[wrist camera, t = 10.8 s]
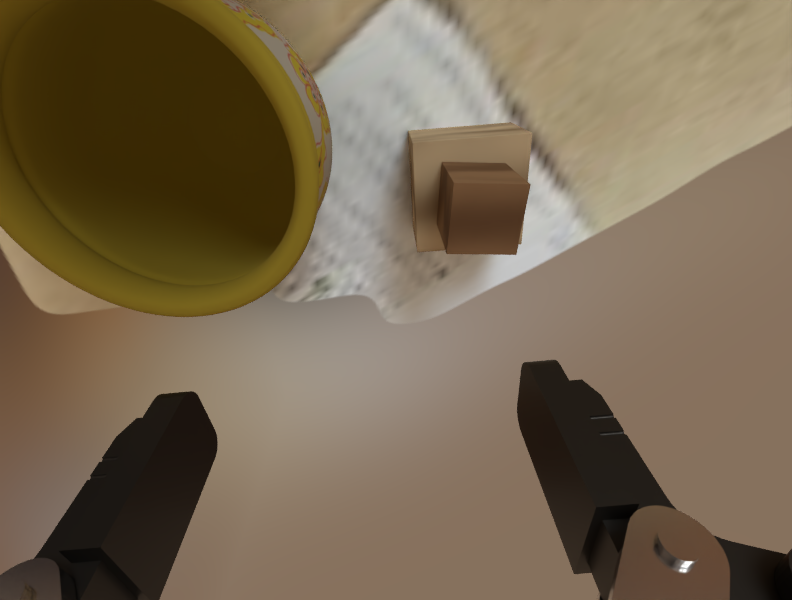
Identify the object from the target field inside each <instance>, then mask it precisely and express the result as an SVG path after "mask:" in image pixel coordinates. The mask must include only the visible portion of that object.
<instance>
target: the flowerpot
mask: <svg viewBox="0 0 792 600" xmlns="http://www.w3.org/2000/svg"><path fill="white" fill-rule="evenodd" d="M331 165H332V137H331V129H330V124H329V119H328V115H327V111H326V108H325V104H324V102H323V99H322V96H321V94H320V91H319V89H318V87H317V84H316V83H315V81H314V79H313V77H312V75H311V73H310V71H309V70H308V68H307V67H306V65H305V63H304V62H303V60H302V59H301V58H300V56H299V55H298V53H297V52H296V51H295V50H294V48H293V47H292V46H291V45H290V43H289V42H288V41H287V40H286V39H285V38H284V37H283V36H282V35H281V34H280V33H279V32H278V31H277V30H276V29H275V28H274V27H273V26H272V25H271V24H269V23H268V22H267V21H266V20H264V19H263V18H262V17H261V16H259V15H258V14H257V13H255V12H254V11H252V10H251V9H250V8H248V7H246V6H245V5H243V4H241V3H240V2H238V1H236V0H0V226H1V227H2V228H3V229H4V230H5V231H6V233H7V234H8V235H9V236H10V237H11V238H12V239H13V240H14V241H15V242H16V243H18V244H19V245H20V246H21V247H22V248H23V249H24V250H25V251H26V252H27V253H29V254H30V255H31V256H32V257H33V258H35V259H36V260H37V261H38V262H40V263H41V264H42V265H44V266H45V267H46V268H48V269H49V270H51V271H52V272H54V273H55V274H56V275H58V276H59V277H61V278H63V279H64V280H66V281H68V282H69V283H71V284H73V285H74V286H76V287H78V288H80V289H82V290H84V291H86V292H88V293H90V294H92V295H94V296H96V297H98V298H101V299H103V300H106V301H108V302H111V303H113V304H116V305H119V306H122V307H125V308H129V309H132V310H136V311H140V312H144V313H150V314H155V315H163V316H175V317H194V316H195V317H196V316H206V315H213V314H218V313H223V312H226V311H230V310H234V309H236V308H239V307H242V306H244V305H246V304H248V303H251V302H253V301H255V300H256V299H258V298H260V297H262V296H263V295H265V294H266V293H268V292H269V291H270V290H272V289H273V288H274V287H275V286H276V285H278V284H279V283H280V282H281V281H282V280H283V279H284V278H285V277H286V276H287V275H288V274H289V272H290V271H291V270H292V269H293V267H294V266H295V265H296V263H297V262H298V260H299V259H300V257H301V255H302V254H303V252H304V250H305V248H306V246H307V244H308V241H309V239H310V236H311V233H312V231H313V227H314V224H315V220H316V215H317V212H318V210H319V208H320V206H321V204H322V201H323V199H324V196H325V193H326V190H327V186H328V182H329V178H330V172H331Z"/></svg>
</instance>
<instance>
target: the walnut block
mask: <svg viewBox="0 0 792 600" xmlns="http://www.w3.org/2000/svg"><path fill="white" fill-rule="evenodd" d="M529 189H530V184H529V183H528V182H527V181H526V180H525V179H524V178H522V177H521V176H520V175H519V174H518V173H517V172H515V171H514V170H513V169H512V168H511V167H510V166H508V165H507V164H506V163H477V162H442V165H441V176H440V188H439V200H438V212H437V226H438V229H439V232H440V235H441V238H442V241H443V244H444V247H445V250H446V253H447V254H505V255H516V253H517V248H518V243H519V238H520V234H521V229H522V224H523V219H524V214H525V209H526V204H527V199H528V194H529Z"/></svg>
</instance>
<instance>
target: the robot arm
mask: <svg viewBox="0 0 792 600" xmlns="http://www.w3.org/2000/svg"><path fill="white" fill-rule="evenodd" d="M517 413H518V421H519V426H520V430H521V432H522V436H523V438H524V441H525V444H526V446H527V449H528V452H529V454H530V457H531V459H532V462H533V465H534V468H535V470H536V473H537V475H538V478H539V481H540V484H541V486H542V489H543V492H544V494H545V497H546V500H547V503H548V505H549V508H550V511H551V513H552V516H553V518H554V521H555V524H556V527H557V529H558V532H559V535H560V538H561V540H562V543H563V546H564V548H565V551H566V553H567V556H568V559H569V562H570V564H571V567H572V570H573V572H574V574H581V573H592V575H593V577H594V580H595V582H596V584H597V587H598V589H599V595H598V598H597V600H792V549H791V550H790V551H789V552H788V554H783V553H779V552H774V551H770V550H766V549H761V548H757V547H753V546H748V545H744V544H739V543H735V542H731V541H728V540H724V539H721V538H719V537H716V536H713V535H712V534H711V533H710V532H709V531H708V530H707V529H706V528H705V527H704V526H703V525H701V524H700V523H699V522H698V521H696V520H695V519H693V518H692V517H690V516H689V515H686V514H685V513H683V512H681V511H678V510H676V508H675V507H674V506H673V505H672V504H671V503H670V501H669V500H668V499H667V497H666V495H665V494H664V492H663V491H662V489H661V488H660V486H659V485H658V483H657V482H656V480H655V478H654V477H653V475H652V474H651V472H650V471H649V469H648V467H647V466H646V464H645V463H644V461H643V460H642V458H641V457H640V455H639V453H638V452H637V450H636V449H635V447H634V446H633V444H632V442H631V441H630V439H629V438H628V436H627V435H625V434H624V432H623V428H622V427H621V425H620V424H619V422H618V421H617V419H616V418H614V416H613V413H612V411H611V410H610V408H609V407H608V405H607V403H606V402H605V400H604V399H603V397H602V396H601V395H600V394H599V393H598V392H597V391H595V390H594V389H593V388H591V387H590V386H589V385H588V384H587V383H585V382H584V381H583V380H572V381H569V379H568V378H567V376H566V374H565V373H564V371H563V369H562V367H561V365H560V364H559V363H558V361H556V360H546V361H536V362H525V363H523V365H522V368H521V376H520V386H519V395H518V403H517ZM216 453H217V435H216V432H215V429H214V427H213V425H212V423H211V421H210V419H209V417H208V415H207V413H206V411H205V409H204V407H203V405H202V403H201V401H200V399H199V397H198V395H197V394H196V393H195V392H179V393H169V394H161V395H158V396H157V397H156V398H155V399H154V401H153V402H152V404H151V405H150V407H149V408H148V410H147V411H146V413H145V415H144V416H143V418H137V419H135V420H134V421H133V422H132V423H131V424H130V425H129V426H128V427H127V428H125V429H124V430H123V431H122V432H121V433H120V434H119V435H118V436H117V437H116V438H115V440H114V441H113V442H112V444H111V446H110V447H109V448H108V450H107V451H106V453H105V454H104V456H103V457H102V458H103V460H102V462H99V463H98V465H97V467H96V468H95V469H94V471H93V473H92V474H91V475H90V476H91V479H90V480H87V481H86V483H85V484H84V486H83V487H82V489H81V490H80V492H79V493H78V495H77V496H76V498H75V499H74V501H73V502H72V504H71V505H70V507H69V508H68V510H67V512H66V513H65V514H64V516H63V517H62V519H61V520H60V522H59V523H58V525H57V526H56V528H55V529H54V531H53V532H52V534H51V535H50V537H49V538H48V540H47V541H46V543H45V544H44V546H43V547H42V549H41V550H40V551H39V553H38V554H37V555H36V557H35V558H34V559H31V560H27V561H25V562H22V563H20V564H18V565H16V566H14V567H12V568H10V569H9V570H7V571H6V572H4V573H3V574H1V575H0V600H159V599H160V596H161V594H162V591H163V588H164V586H165V584H166V581H167V579H168V576H169V573H170V571H171V568H172V566H173V563H174V561H175V558H176V556H177V553H178V551H179V548H180V545H181V543H182V540H183V538H184V535H185V533H186V530H187V528H188V525H189V523H190V520H191V518H192V515H193V513H194V510H195V508H196V505H197V503H198V500H199V497H200V495H201V492H202V490H203V487H204V485H205V482H206V479H207V477H208V475H209V472H210V470H211V467H212V464H213V462H214V459H215V457H216Z"/></svg>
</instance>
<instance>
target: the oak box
mask: <svg viewBox="0 0 792 600" xmlns="http://www.w3.org/2000/svg"><path fill="white" fill-rule="evenodd" d="M408 135H409V155H410V174H411V194H412V214H413V229H414V235H415V240H416V246H417V251H418V252H426V251H439V250H445V247H444V244H443V241H442V238H441V235H440V232H439V229H438V226H437V212H438V200H439V188H440V176H441V165H442V162H477V163H506V164H507V165H508V166H510V167H511V168H512V169H513V170H514V171H515V172H517V173H518V174H519V175H520V176H521V177H522V178H524V179H525V180H526V181H528V171H529V161H530V151H531V141H532V133H531V132H529V131H527V130H525V129H523V128H521V127H519V126H517V125H515V124H513V123H511V122H510V123H498V124H486V125H473V126H461V127H448V128H436V129H424V130H411V131H408ZM523 221H524V219H523ZM522 231H523V224H522V229H521V234H520V238H519V243H518V244H521V241H522Z"/></svg>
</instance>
